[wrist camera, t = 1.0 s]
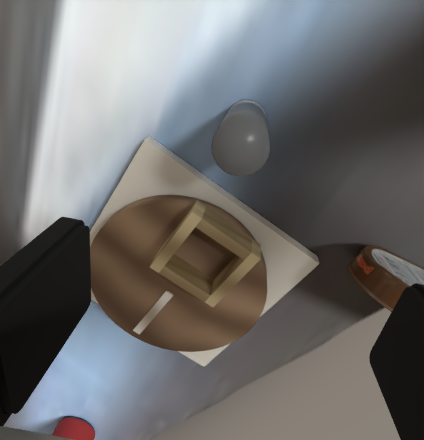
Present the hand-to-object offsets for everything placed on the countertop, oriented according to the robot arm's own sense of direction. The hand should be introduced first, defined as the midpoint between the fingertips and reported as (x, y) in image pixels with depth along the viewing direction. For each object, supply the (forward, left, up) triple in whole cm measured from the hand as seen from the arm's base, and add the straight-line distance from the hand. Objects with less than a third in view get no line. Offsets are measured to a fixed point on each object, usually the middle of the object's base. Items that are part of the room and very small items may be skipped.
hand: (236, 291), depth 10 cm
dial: (+16, +3, -20) cm, 26 cm away
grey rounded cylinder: (-1, -1, -22) cm, 22 cm away
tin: (+1, +22, -22) cm, 31 cm away
